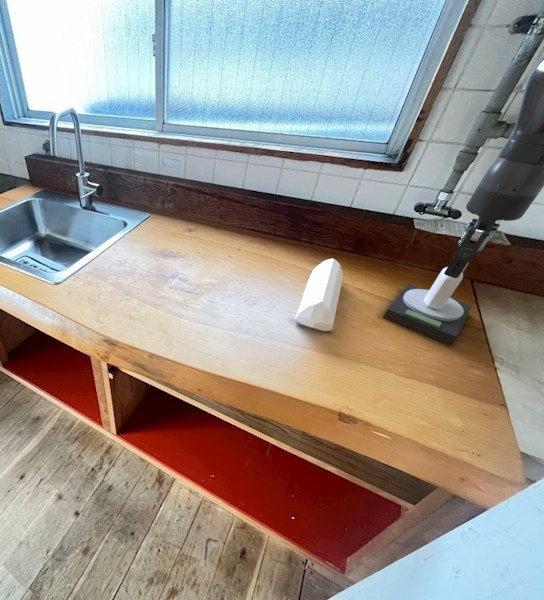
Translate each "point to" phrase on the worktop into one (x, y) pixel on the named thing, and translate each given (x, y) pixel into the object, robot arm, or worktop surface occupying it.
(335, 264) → the chamfered white bar
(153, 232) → the worktop surface
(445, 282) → the eye dropper bottle
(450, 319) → the kitchen scale
